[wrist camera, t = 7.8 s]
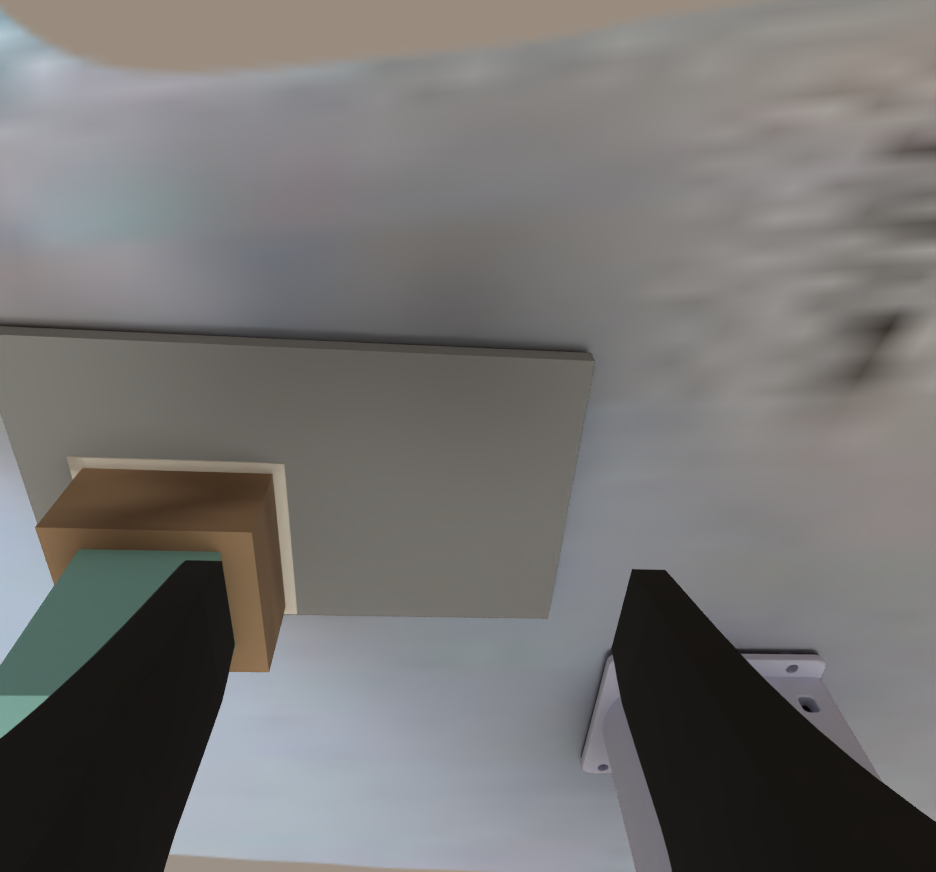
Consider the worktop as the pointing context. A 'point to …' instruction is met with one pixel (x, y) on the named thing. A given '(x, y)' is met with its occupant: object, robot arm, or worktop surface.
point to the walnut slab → (183, 537)
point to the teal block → (80, 621)
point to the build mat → (328, 453)
